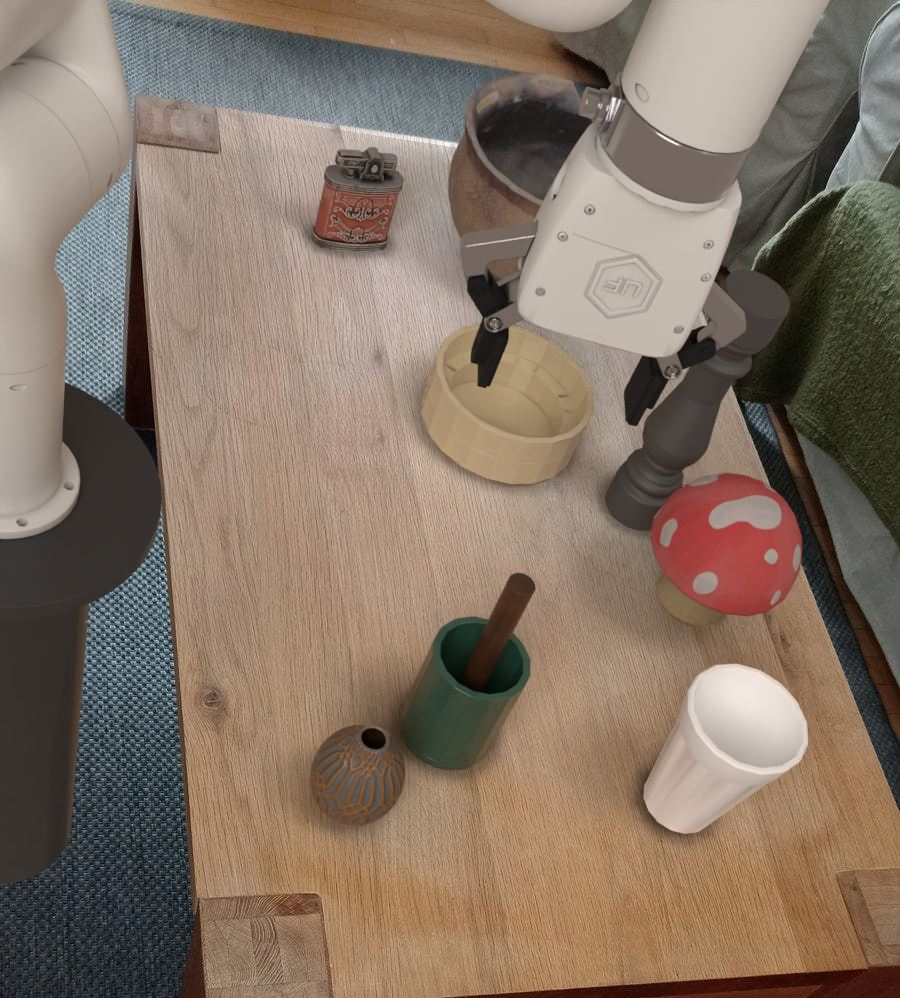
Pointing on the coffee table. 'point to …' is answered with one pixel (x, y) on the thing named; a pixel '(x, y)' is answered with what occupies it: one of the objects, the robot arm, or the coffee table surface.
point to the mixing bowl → (507, 407)
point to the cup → (724, 746)
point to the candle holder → (694, 407)
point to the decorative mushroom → (725, 549)
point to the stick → (497, 631)
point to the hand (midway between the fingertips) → (557, 391)
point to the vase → (357, 774)
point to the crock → (461, 698)
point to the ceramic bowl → (512, 153)
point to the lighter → (357, 201)
